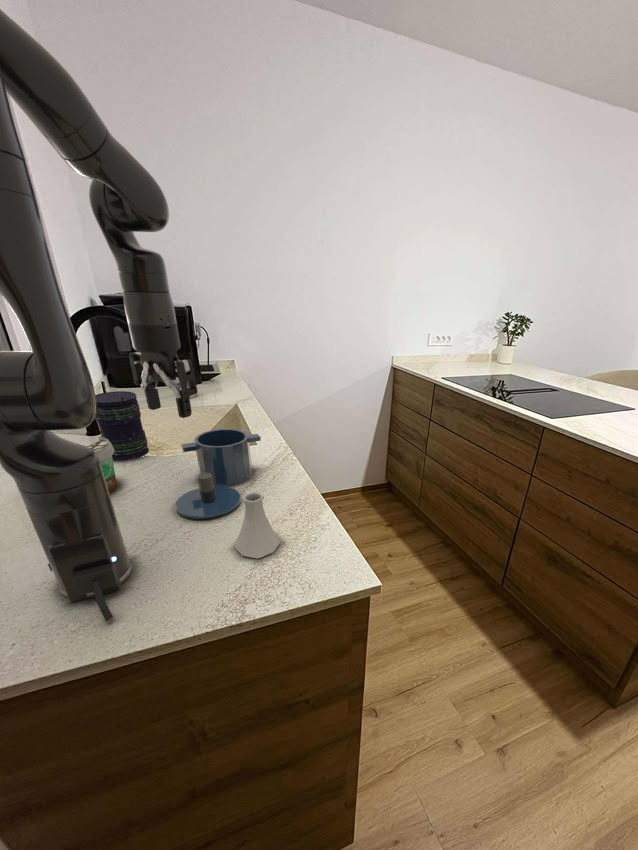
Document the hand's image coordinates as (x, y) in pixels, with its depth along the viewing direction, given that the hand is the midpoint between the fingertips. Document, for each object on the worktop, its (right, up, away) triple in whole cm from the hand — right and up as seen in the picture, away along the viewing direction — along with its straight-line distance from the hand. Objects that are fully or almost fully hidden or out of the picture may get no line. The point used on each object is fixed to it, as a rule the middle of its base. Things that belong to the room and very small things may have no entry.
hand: (170, 412), depth 73 cm
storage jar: (-24, -6, +27) cm, 36 cm away
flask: (+18, -25, -6) cm, 31 cm away
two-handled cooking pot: (+5, -12, +18) cm, 22 cm away
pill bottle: (-30, +19, +75) cm, 83 cm away
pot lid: (+5, -17, +6) cm, 19 cm away
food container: (-19, -15, +9) cm, 26 cm away
